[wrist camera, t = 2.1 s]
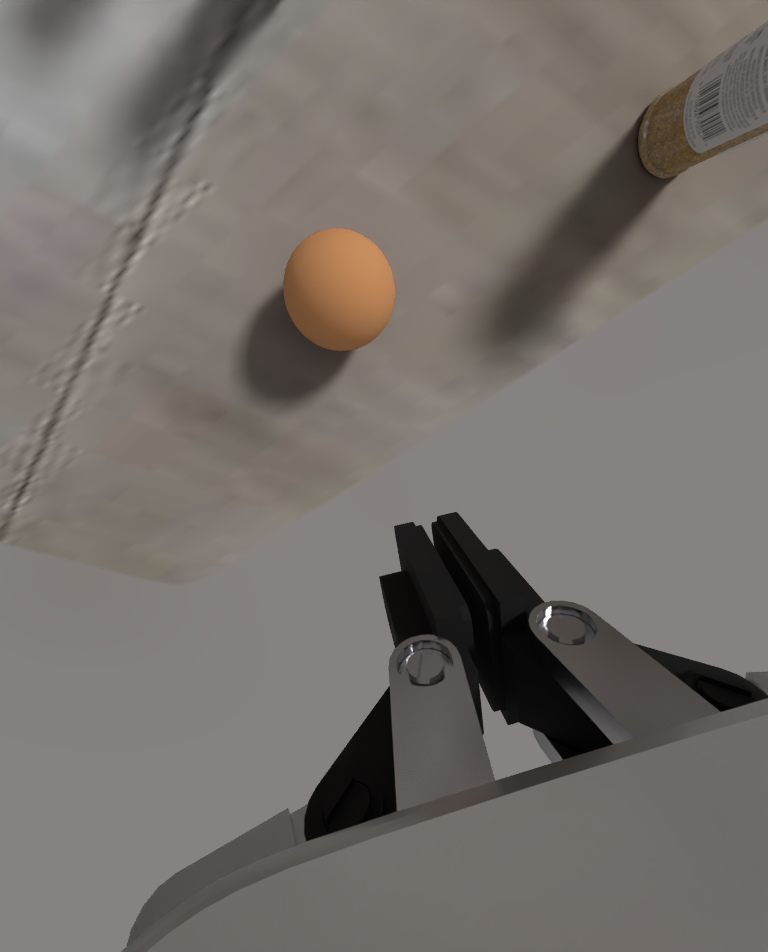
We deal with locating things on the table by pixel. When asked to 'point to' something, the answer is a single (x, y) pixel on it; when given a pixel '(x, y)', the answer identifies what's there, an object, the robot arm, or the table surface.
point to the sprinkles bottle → (709, 109)
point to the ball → (339, 289)
